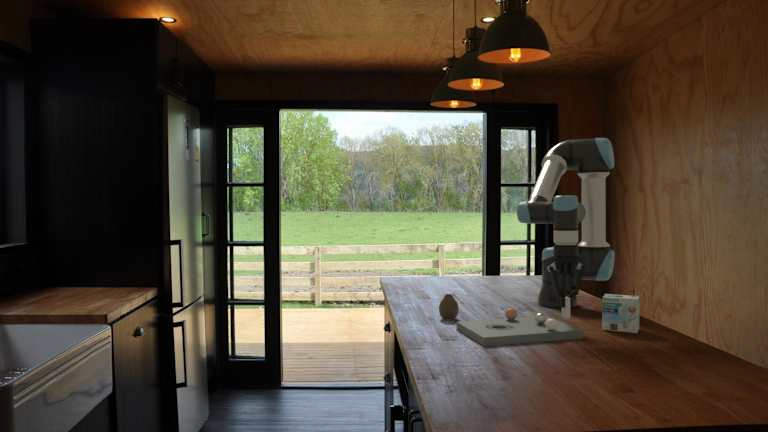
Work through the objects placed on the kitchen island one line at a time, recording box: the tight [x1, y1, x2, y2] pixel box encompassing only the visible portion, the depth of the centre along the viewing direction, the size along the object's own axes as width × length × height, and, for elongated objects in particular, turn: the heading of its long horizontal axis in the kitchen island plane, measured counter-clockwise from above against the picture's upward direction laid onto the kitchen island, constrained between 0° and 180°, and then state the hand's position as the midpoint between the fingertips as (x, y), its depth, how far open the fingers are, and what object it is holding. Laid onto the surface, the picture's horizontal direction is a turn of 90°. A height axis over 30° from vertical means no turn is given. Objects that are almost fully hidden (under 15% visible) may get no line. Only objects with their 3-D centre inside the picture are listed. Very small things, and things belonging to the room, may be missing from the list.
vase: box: [438, 293, 459, 321], centre depth 202 cm, size 7×7×9 cm
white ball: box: [545, 318, 557, 331], centre depth 172 cm, size 4×4×4 cm
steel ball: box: [534, 312, 547, 324], centre depth 180 cm, size 4×4×4 cm
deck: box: [456, 315, 584, 347], centre depth 179 cm, size 32×22×2 cm
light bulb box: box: [601, 293, 640, 334], centre depth 182 cm, size 11×7×11 cm, turn 62°
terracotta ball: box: [504, 307, 518, 320], centre depth 187 cm, size 4×4×4 cm
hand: (566, 317), depth 182 cm, fingers closed
